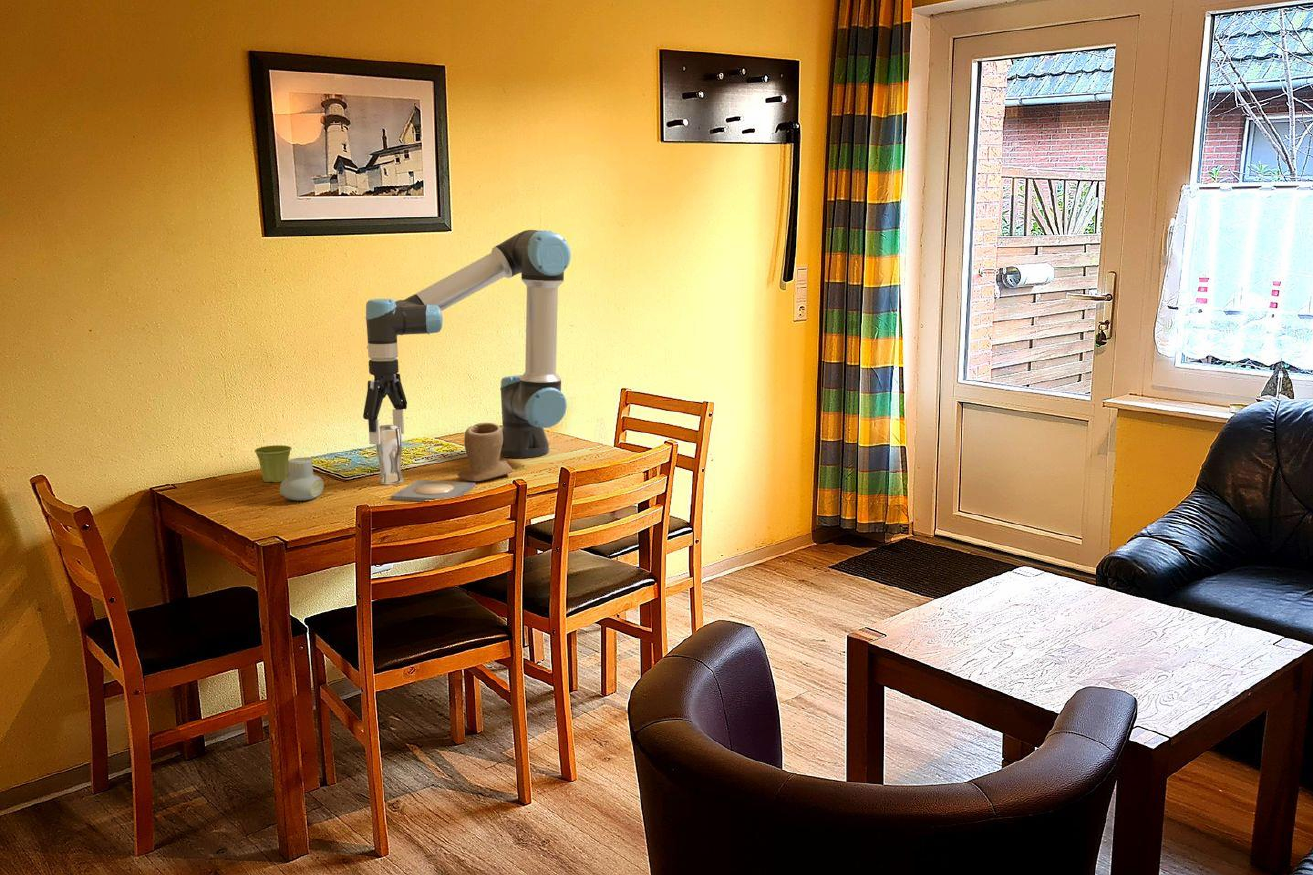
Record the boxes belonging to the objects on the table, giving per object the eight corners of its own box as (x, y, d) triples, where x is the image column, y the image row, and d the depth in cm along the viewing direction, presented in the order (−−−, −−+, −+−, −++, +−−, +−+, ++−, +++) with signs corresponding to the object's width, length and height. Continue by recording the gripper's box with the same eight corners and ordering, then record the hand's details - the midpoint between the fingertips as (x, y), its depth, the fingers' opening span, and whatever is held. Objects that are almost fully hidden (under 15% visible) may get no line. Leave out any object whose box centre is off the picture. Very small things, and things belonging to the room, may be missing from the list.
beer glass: (398, 485, 297) (394, 430, 293) (373, 484, 298) (369, 429, 295) (408, 479, 303) (405, 424, 300) (384, 478, 305) (381, 424, 301)
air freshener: (307, 504, 280) (304, 465, 278) (277, 503, 281) (273, 464, 279) (327, 493, 291) (325, 455, 288) (298, 492, 292) (295, 454, 290)
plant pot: (283, 474, 311) (281, 443, 309) (300, 479, 304) (297, 448, 302) (251, 480, 304) (248, 449, 302) (267, 486, 298) (264, 454, 296)
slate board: (419, 483, 299) (418, 479, 298) (475, 486, 295) (475, 482, 295) (391, 499, 284) (391, 495, 283) (450, 502, 280) (450, 498, 280)
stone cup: (477, 487, 294) (474, 431, 291) (452, 479, 303) (449, 424, 300) (524, 477, 304) (522, 422, 301) (498, 469, 313) (496, 416, 310)
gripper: (391, 352, 306) (395, 428, 310) (346, 365, 282) (351, 447, 287) (417, 353, 304) (420, 429, 309) (373, 366, 281) (378, 449, 285)
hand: (387, 438), depth 298 cm, fingers open, 13 cm apart
